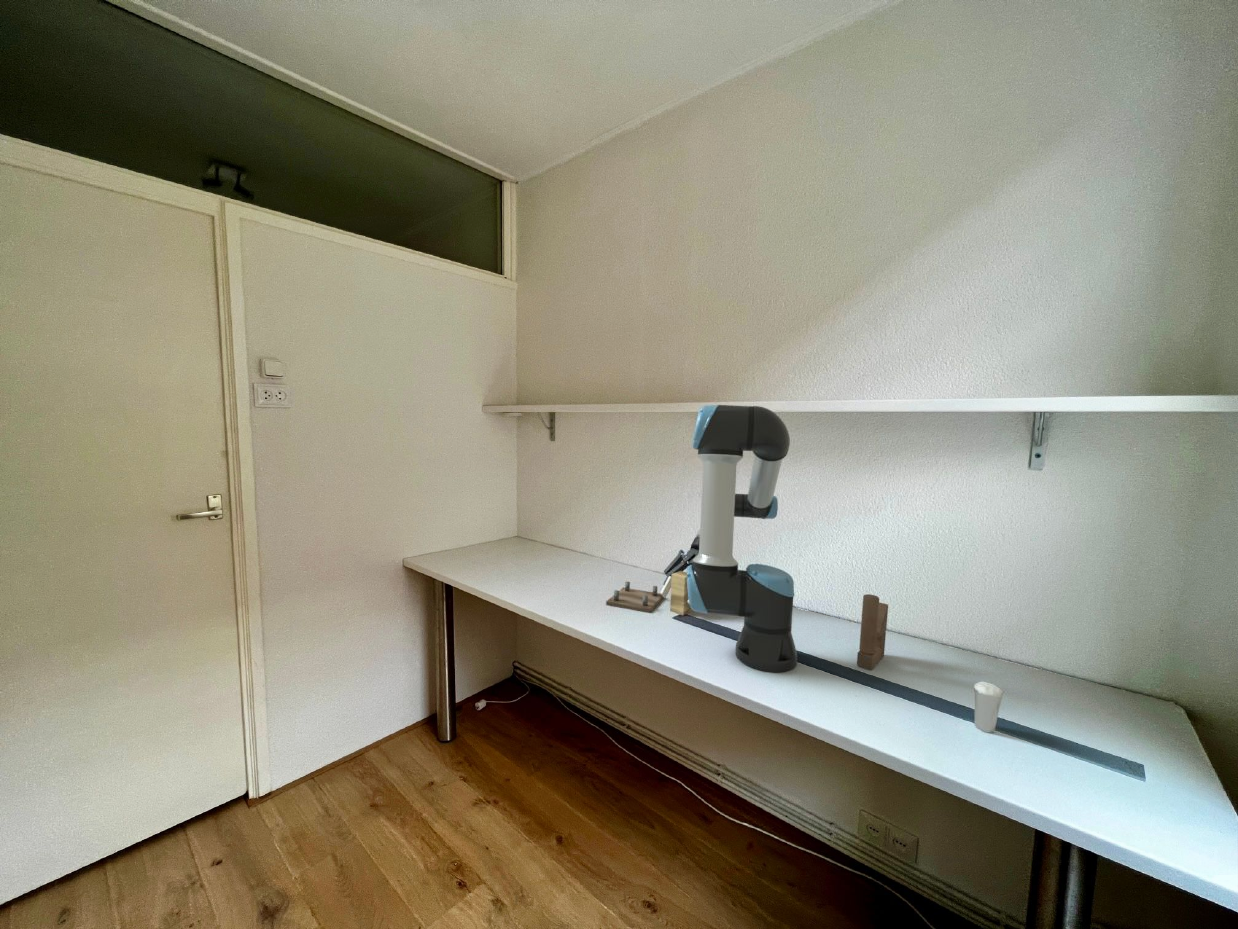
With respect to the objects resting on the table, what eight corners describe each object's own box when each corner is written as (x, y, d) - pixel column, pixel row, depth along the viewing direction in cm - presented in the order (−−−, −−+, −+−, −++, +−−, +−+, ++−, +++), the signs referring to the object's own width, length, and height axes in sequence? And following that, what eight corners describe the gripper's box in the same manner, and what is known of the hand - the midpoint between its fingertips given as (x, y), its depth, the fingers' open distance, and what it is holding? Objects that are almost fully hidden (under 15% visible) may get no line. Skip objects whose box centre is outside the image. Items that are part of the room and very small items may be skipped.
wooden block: (884, 657, 128) (889, 590, 127) (871, 671, 120) (877, 600, 119) (869, 652, 131) (874, 586, 129) (856, 666, 123) (861, 596, 121)
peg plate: (649, 612, 153) (650, 599, 153) (606, 604, 159) (606, 592, 159) (663, 597, 167) (664, 585, 167) (623, 590, 173) (623, 579, 172)
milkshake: (994, 740, 95) (999, 690, 94) (965, 724, 100) (970, 677, 99) (1008, 734, 97) (1013, 686, 96) (979, 719, 102) (983, 673, 101)
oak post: (683, 615, 152) (684, 577, 151) (670, 611, 156) (671, 574, 155) (692, 611, 156) (693, 574, 155) (679, 606, 159) (680, 570, 158)
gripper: (739, 555, 158) (711, 616, 148) (682, 542, 173) (652, 596, 163) (731, 541, 154) (702, 603, 143) (673, 529, 169) (643, 584, 158)
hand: (676, 599), depth 153 cm, fingers open, 10 cm apart
